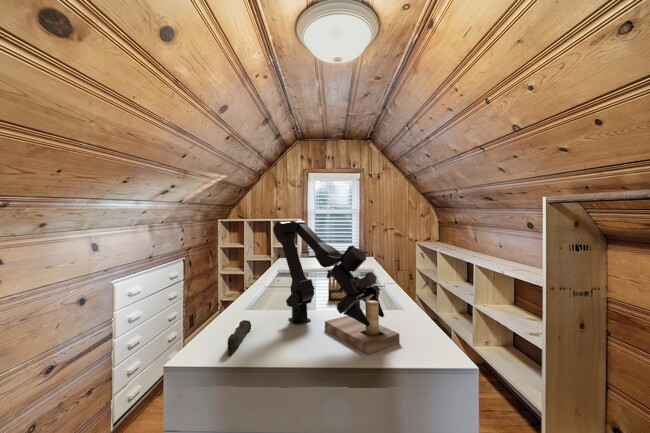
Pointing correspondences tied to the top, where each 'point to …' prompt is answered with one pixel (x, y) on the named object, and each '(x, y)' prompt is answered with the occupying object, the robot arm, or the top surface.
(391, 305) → the top surface
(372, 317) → the oak peg
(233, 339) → the hand tool
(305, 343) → the top surface
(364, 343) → the walnut board
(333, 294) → the ammunition clip
